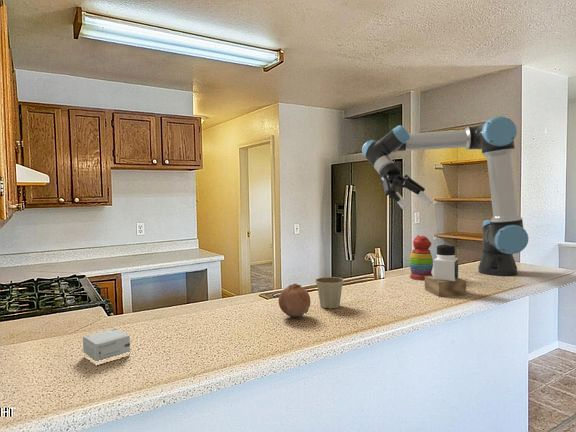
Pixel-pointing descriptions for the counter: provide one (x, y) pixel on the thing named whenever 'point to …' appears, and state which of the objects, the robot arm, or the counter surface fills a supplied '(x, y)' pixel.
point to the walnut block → (445, 287)
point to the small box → (106, 344)
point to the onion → (294, 301)
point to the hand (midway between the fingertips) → (417, 205)
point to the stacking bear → (421, 258)
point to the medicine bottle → (446, 263)
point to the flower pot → (329, 291)
